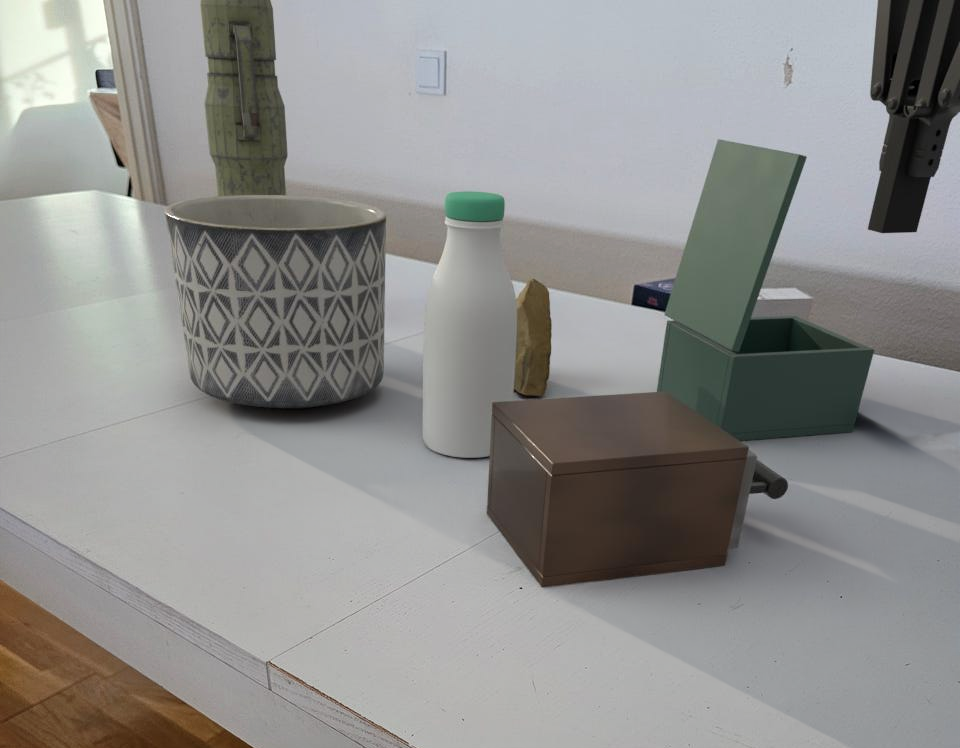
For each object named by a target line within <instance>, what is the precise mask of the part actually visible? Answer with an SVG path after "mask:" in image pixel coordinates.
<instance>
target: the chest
mask: <svg viewBox="0 0 960 748" xmlns="http://www.w3.org/2000/svg"><path fill="white" fill-rule="evenodd" d="M874 353H875V349H874V348H872V347H869V346H866V345H865V344H864V345H863V344H862V343H860V342H857V341H855V340H852V339H851V338H848V337H846V336H843V335H841V334H839V333H836V332H834V331H831V330H829V329H827V328H824V327H822V326H820V325H817V324H815V323H814V322H813V323H812V322H811V321H808V320H806V319H804V318H801V317H799V316H797V315H781V316H779V315H778V316H755V317H754V316H751V319H750V322H749V325H748V327H747V330H746V333H745V336H744V339H743V342H742V345H741V347H740V350H739V352H735V351H731V350H729V349H727V348H725V347H724V346H722V345H720V344H718V343H716V342H714V341H712V340H710V339H708V338H707V337H705V336H703V335H701V334H699V333H697V332H695V331H693V330H691V329H690V328H688V327H686V326H684V325H682V324H680V323H678V322H676V321H675V320H667V321H666V326H665V331H664V338H663V346H662V353H661V360H660V367H659V373H658V379H657V387H656V392H664V391H665V392H667V393H669V394H670V395H672V396H673V397H675V398H676V399H678V400H679V401H681V402H682V403H684V404H685V405H687V406H688V407H690V408H691V409H693V410H694V411H696V412H697V413H699V414H700V415H702V416H703V417H704V418H706V419H707V420H709V421H710V422H712V423H713V424H715V425H716V426H718V427H719V428H721V429H722V430H724V431H725V432H727V433H728V434H730V435H731V436H733V437H734V438H736V439H737V440H739V441H740V442H744V441H745V442H746V441H755V440H767V439H769V440H771V439H779V438H780V439H782V438H793V437H805V436H806V437H807V436H819V435H829V434H831V435H832V434H843V433H852V432H853V431H854V427H855V424H856V420H857V416H858V413H859V409H860V406H861V402H862V397H863V394H864V390H865V386H866V383H867V380H868V375H869V372H870V368H871V365H872V361H873V357H874Z"/></svg>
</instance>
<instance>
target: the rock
mask: <svg viewBox="0 0 960 748" xmlns="http://www.w3.org/2000/svg"><path fill="white" fill-rule="evenodd" d="M516 303H517V338H516V357H515V375H514V391H516V392H517V393H519V394H521V395H524V396H533V397H535V396H536V397H543V396H544V395H545V393H546V390H547V387H548V385H547V384H548V381H549V379H550V372H551V371H550V370H551V369H550V368H551V367H550V366H551V356H552V336H553V334H552V329H553V326H552V324H553V323H552V317H551V301H550V291H549V289H548V287H547V286H545V285H544V284H543V283H542V282H539V281H538V279H535V278H530V279H529V280H528V281H527V283H526V285H525V286H524V288H523V289H522V290H521V291H520V292H519V294H518V295H517V297H516Z"/></svg>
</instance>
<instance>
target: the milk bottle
mask: <svg viewBox="0 0 960 748" xmlns="http://www.w3.org/2000/svg"><path fill="white" fill-rule="evenodd" d="M505 202H506V201H505V197H504V196H502V195H501V194H498V193H492V192H486V191H467V190H466V191H465V190H462V191H452V192H449V193H446V195H445V199H444V215H445V220H444V225H446V227H447V233H446V239H445V243H444V247H443V250H442V254H441V257H440V260H439V262H438V265H437V267H436V269H435V271H434V273H433V276H432V278H431V280H430V283H429V286H428V289H427V294H426V298H425V305H424V319H423V320H424V321H423V324H424V325H423V351H422V352H423V354H422V355H423V356H422V357H423V358H422V439H423V442H424V444H425V446H426V447H428V448H429V450H432V451H433V452H435V453H438V454H441V455H445V456H448V457H452V458H453V457H454V458H463V459H464V458H467V459H474V458H475V459H476V458H485V457H490V440H491V420H492V414H493V413H492V403H493V402H504V401H514V391H515V389H514V375H515V357H516V338H517V303H516V299H517V297H516V291H515V288H514V287H515V286H514V284H513V281H512V278H511V275H510V272H509V270H508V267H507V264H506V261H505V257H504V253H503V248H502V242H501V229H502V228H504V217H505V208H506V207H505V205H506V204H505Z"/></svg>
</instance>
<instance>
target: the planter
mask: <svg viewBox="0 0 960 748" xmlns="http://www.w3.org/2000/svg"><path fill="white" fill-rule="evenodd" d="M164 214H165V215H164V216H165V222H166V227H167V233H168V234H167V235H168V240H169V241H168V242H169V248H170V254H171V261H172V267H173V274H174V280H175V281H174V282H175V285H176V286H175V287H176V292H177V300H178V307H179V313H180V319H181V325H182V332H183V340H184V346H185V352H186V359H187V365H188V372H189V376H190V380H191V381H192V383H193V385H194V386H195V387H196V388H197V389H198V390H200V391H201V392H203V393H204V394H206V395H207V396H210V397H212V398H215V399H217V400H221V401H224V402H228V403H232V404H238V405H245V406H252V407H258V408H265V409H272V410H302V409H303V410H304V409H313V408H317V407H322V406H326V405H327V406H328V405H333V404H337V403H338V404H339V403H343V402H347V401H350V400H353V399H357V398H359V397H362V396H364V395H366V394H368V393H370V392H372V391H373V390H375V389H376V388H377V387H379V385H380V384H381V382H382V380H383V377H384V374H385V319H386V318H385V315H386V314H385V313H386V309H385V308H386V248H387V247H386V245H387V242H386V241H387V239H386V238H387V214H386V212H385V211H384V210H383V209H381V208H379V207H376V206H374V205H371V204H367V203H362V202H358V201H354V200H353V201H352V200H346V199H339V198H330V197H322V196H321V197H319V196H306V195H305V196H304V195H287V194H286V195H234V196H218V195H217V196H208V197H200V198H193V199H186V200H182V201H177V202H175V203H172V204H170V205H168V206H166V208H165V209H164Z"/></svg>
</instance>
